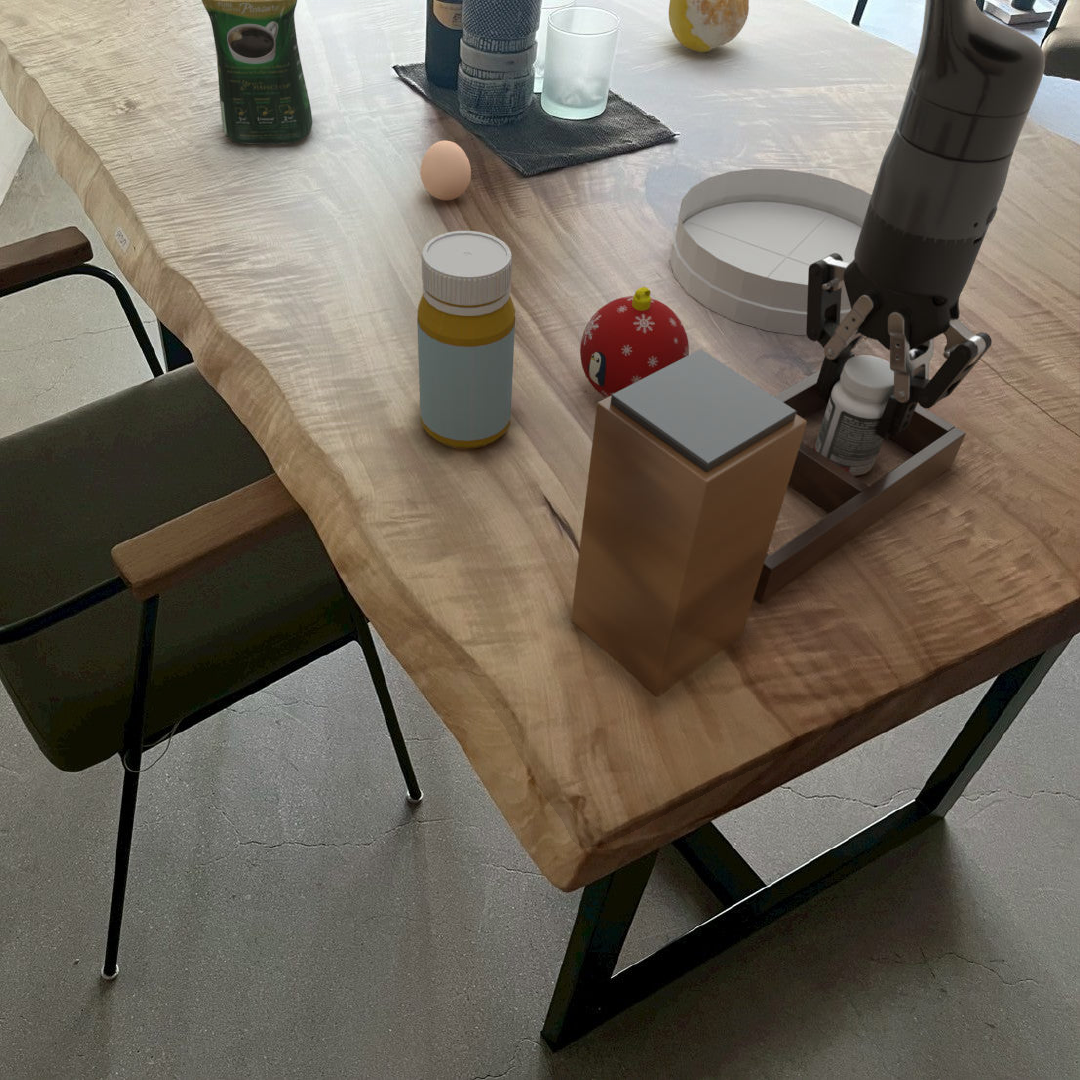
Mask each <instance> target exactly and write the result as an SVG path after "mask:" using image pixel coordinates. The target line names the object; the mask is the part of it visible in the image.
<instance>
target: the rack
mask: <svg viewBox="0 0 1080 1080" xmlns="http://www.w3.org/2000/svg"><path fill="white" fill-rule="evenodd" d="M820 370H821V369H819V370H816V371H815V372H813V373H812V374H810V375H809V376H807V377H805V378H803V379H801V380H800V381H798V382H796V383H794V384H792V385H791V386H789V387H787V388H785V389H784V390H782V391H781V392H779V393H777V394H776V395H773V396H774V397H776V398H777V399H779V400H780V401H782V402H784V403H785V404H787V405H788V406H790V407H791V408H793V409H794V410H796V411H797V413H796V414H797V415H799V416H800V417H802V418H803V419H806V418H808V417H809V416H811V415H813V414H814V413H816V412H818V411H819V410H821V409H823V408H825V407H827V405H828V403H826V402H824V401H823V400H821V399H820V398H819V397H818V396H819V393H820V390H818V389H817V380H818V377H819V373H820ZM966 435H967V432H965V431H963V430H961V429H960V428H958V427H957V426H955V425H953V424H952V423H951V422H949V421H947V420H945V419H943V418H942V417H940V416H939V415H937V414H935V413H933V412H932V411H930V410H928V409H926V408H923V407H921V406H920V404H919V403H917V406H916V408H915V411H914V413H913V416H912V418H911V421H910V424H909V426H907V427H906V428H905V429H904V430H902V431H901V432H899V433H898V434H896V435H895V436H892V435H891V436H890V437H888V439H890V440H892V441H893V442H895V443H896V444H897V445H900V446H901V447H902V448H905V449H906V450H908V451H909V452H911V453H913V454H914V455H912V456H911V457H910V458H908V459H907V460H905V461H904V462H902V463H901V464H899V465H898V466H897V467H894V469H891V471H889V472H888V473H887V474H885V475H884V476H882V477H880V478H879V479H878V480H875V482H873V483H872V484H871V485H868V484H867V483H865V482H864V481H863V480H861V479H859V478H858V477H857V476H853V475H852V474H850V473H849V472H847V471H846V470H844V469H843V468H841V467H840V466H838V465H837V464H835V463H834V462H832V461H831V460H829V459H828V458H826V457H825V456H823V455H822V454H820V453H818V452H817V451H815V450H814V448H813V447H811V446H810V445H808V444H807V443H806V442H803V441H801V444H800V447H799V450H798V454H797V457H796V460H795V463H794V467H793V470H792V473H791V476H790V480H789V483H788V486H790V487H791V488H792V489H794V490H795V491H797V492H798V493H800V494H801V495H803V496H804V498H807V499H808V500H810V501H811V502H813V503H814V504H816V505H817V506H819V507H820V508H821V509H823V510H824V511H826V512H827V513H828V514H827V515H825V516H824V517H823V518H821V519H820V520H818V521H816V522H815V523H813V524H812V525H811V526H809V527H808V528H807V529H805V530H804V531H802V532H800V533H799V534H797V535H796V536H795V537H793V538H792V539H791V540H789V541H788V542H786V543H784V544H783V545H782V546H780V547H779V548H778V549H776V550H774V551H773V552H772V553H770V554H769V552H767V555H766V558H765V561H764V565H763V568H762V571H761V574H760V578H759V581H758V584H757V588H756V591H755V594H754V597H753V601H756V602H757V603H758V604H759V605H762V604H763V603H765V602H766V601H767V600H769V599H770V598H771V597H773V596H774V595H776V594H777V593H778V592H780V591H782V589H784V588H785V587H787V586H788V585H789V584H791V583H792V582H793V581H795V580H796V579H798V578H799V577H801V576H802V575H804V574H805V573H806V572H808V571H809V570H810V569H812V568H814V567H815V566H816V565H817V564H819V563H821V562H822V561H823V560H825V559H826V558H827V557H828V556H830V555H831V554H832V553H834V552H835V551H837V550H839V549H840V548H841V547H843V546H844V545H845V544H846V543H848V542H849V541H851V540H852V539H853V538H855V537H856V536H858V535H859V534H860V533H862V532H863V531H864V530H866V529H867V528H869V527H871V526H872V525H873V524H875V522H878V520H880V519H881V518H882V517H884V516H886V515H887V514H888V513H889V512H891V511H893V510H894V509H895V508H897V507H898V506H899V505H900V504H902V503H904V502H905V501H906V500H908V499H909V498H910V497H912V496H914V494H916V493H917V492H919V491H920V490H921V489H923V488H924V487H926V486H927V485H929V484H930V483H931V482H932V481H934V480H935V479H937V478H938V477H940V476H941V475H942V474H944V473H945V472H947V471H948V470H949V469H951V468H952V466H953V464H954V462H955V460H956V458H957V455H958V453H959V451H960V449H961V446H962V445H963V442H964V439H965V437H966Z"/></svg>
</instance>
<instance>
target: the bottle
mask: <svg viewBox="0 0 1080 1080" xmlns="http://www.w3.org/2000/svg"><path fill="white" fill-rule="evenodd" d="M511 251H512V250H511V249H510V247H509V246H508V244H507V243H505V242H504V241H503V240H502V239H500V238H498V237H497V236H494V235H492V234H489V233H485V232H482V231H476V230H454V231H448V232H444V233H442V234H439V235H436V236H434V237H432V238H430V240H428V241H427V242H426V243H425V245H424V246H423V248H422V253H421V279H422V291H423V293H422V295H421V297H420V301H419V303H418V307H417V318H416V320H417V321H416V322H417V325H416V326H417V354H418V382H419V383H418V384H419V385H418V386H419V387H418V388H419V414H420V422H421V425H422V427H423V429H424V430H425V432H426V433H427V434H428V435H429V436H430V437H432V438H433V439H434V440H435V441H437V442H439V443H441V444H443V445H444V446H447V447H451V448H454V449H459V450H460V449H463V450H473V449H478V448H483V447H485V446H488V445H490V444H492V443H494V442H496V441H497V440H498V439H499V438H501V437H502V436H503V435H504V434H505V433H506V432H507V431H508V429H509V427H510V424H511V417H512V396H513V395H512V394H513V376H514V375H513V374H514V373H513V372H514V355H515V354H514V353H515V333H516V332H515V330H516V309H515V305H514V303H513V300H512V297H511V289H512V288H511V284H512V269H513V268H512V267H513V265H512V264H513V255H512V252H511Z"/></svg>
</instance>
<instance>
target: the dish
mask: <svg viewBox="0 0 1080 1080" xmlns="http://www.w3.org/2000/svg"><path fill="white" fill-rule="evenodd" d="M871 196H872V193H871V194H870V193H869V192H867V191H865V190H863V189H861V188H858V187H856V186H853V185H851V184H849V183H846V182H843V181H841V180H839V179H838V180H837V179H835V178H831V177H827V176H823V175H819V174H815V173H811V172H805V171H798V170H790V169H783V168H780V169H779V168H749V169H741V170H734V171H733V170H732V171H728V172H727V171H726V172H723V173H721V174H717V175H714V176H710V177H707V178H706V179H703V180H702V181H700V182H699V183H697V184H694V185H693V186H691V187H690V188H689V190H688V191H687V192H686V194H684V196H683V197H682V198H681V202H680V208H679V211H678V218H677V219H678V220H677V223H676V224H675V225H674V229H673V230H674V231H673V236H672V245H671V251H670V256H669V263H670V264H669V265H670V267H671V271H672V273H673V277H674V278H675V280H676V281H677V282H678V284H679V285H680V286H681V287H682V289H683V291H685V293H686V294H688V295H689V296H690V297H692V298H693V299H694V300H696V301H697V302H698V303H700V304H701V305H702V306H703V307H705V308H707V309H708V310H710V311H712V312H714V313H716V314H718V315H720V316H722V317H724V318H726V319H729V320H731V321H733V322H736V323H738V324H741V325H742V324H743V325H746V326H749V327H752V328H755V329H759V330H762V331H767V332H772V333H773V332H774V333H780V334H787V335H794V336H807V334H806V327H807V300H808V273H809V266H810V265H811V264H813V263H815V262H817V261H819V260H821V259H823V258H825V257H827V256H829V255H831V254H833V253H838V254H839V255H841V257H842V259H843V261H844V262H848V263H851V262H852V261H853V260H854V259H855V258H854V253H855V248H856V245H857V242H858V238H859V235H860V232H861V229H862V225H863V222H864V219H865V215H866V212H867V209H868V205H869V202H870V199H871ZM850 311H851V306H850V302H849V299H848V295H847V291H846V287H845V285H844V286H843V287H842V293H841V311H840V323H841V322H842V321H843V319H844V318H845V317H846V316H847V314H848V313H849V312H850Z"/></svg>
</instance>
